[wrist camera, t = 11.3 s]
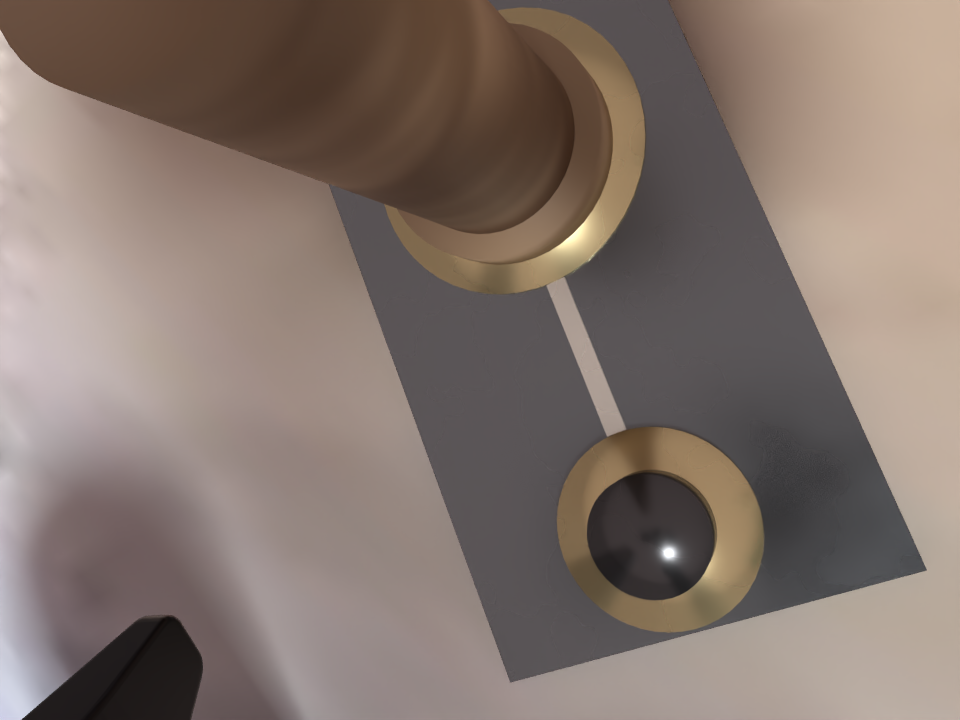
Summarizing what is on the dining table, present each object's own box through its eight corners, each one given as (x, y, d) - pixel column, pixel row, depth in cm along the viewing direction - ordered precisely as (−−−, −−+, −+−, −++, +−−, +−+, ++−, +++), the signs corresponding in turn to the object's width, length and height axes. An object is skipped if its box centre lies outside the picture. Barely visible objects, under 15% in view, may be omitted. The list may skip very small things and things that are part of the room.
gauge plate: (923, 563, 17) (933, 582, 15) (518, 673, 20) (495, 698, 19) (621, -101, 19) (605, -138, 18) (309, 103, 23) (275, 86, 21)
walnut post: (569, 292, 19) (234, 201, 8) (381, 230, 21) (-91, 90, 10) (645, 65, 18) (393, -380, 7) (442, 23, 20) (7, -372, 9)
